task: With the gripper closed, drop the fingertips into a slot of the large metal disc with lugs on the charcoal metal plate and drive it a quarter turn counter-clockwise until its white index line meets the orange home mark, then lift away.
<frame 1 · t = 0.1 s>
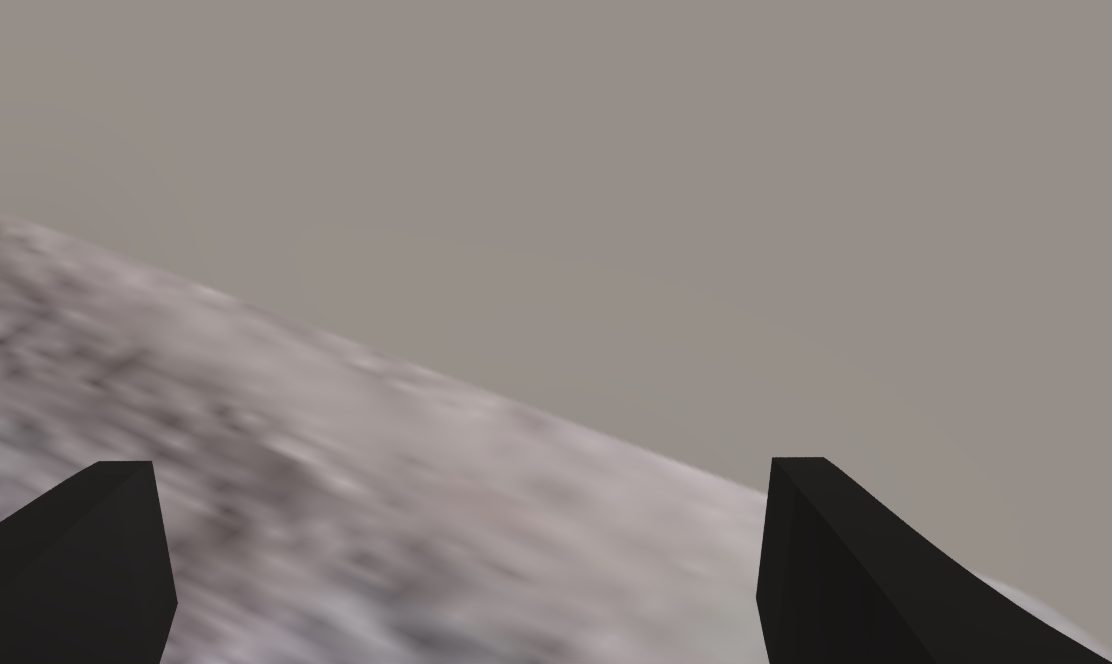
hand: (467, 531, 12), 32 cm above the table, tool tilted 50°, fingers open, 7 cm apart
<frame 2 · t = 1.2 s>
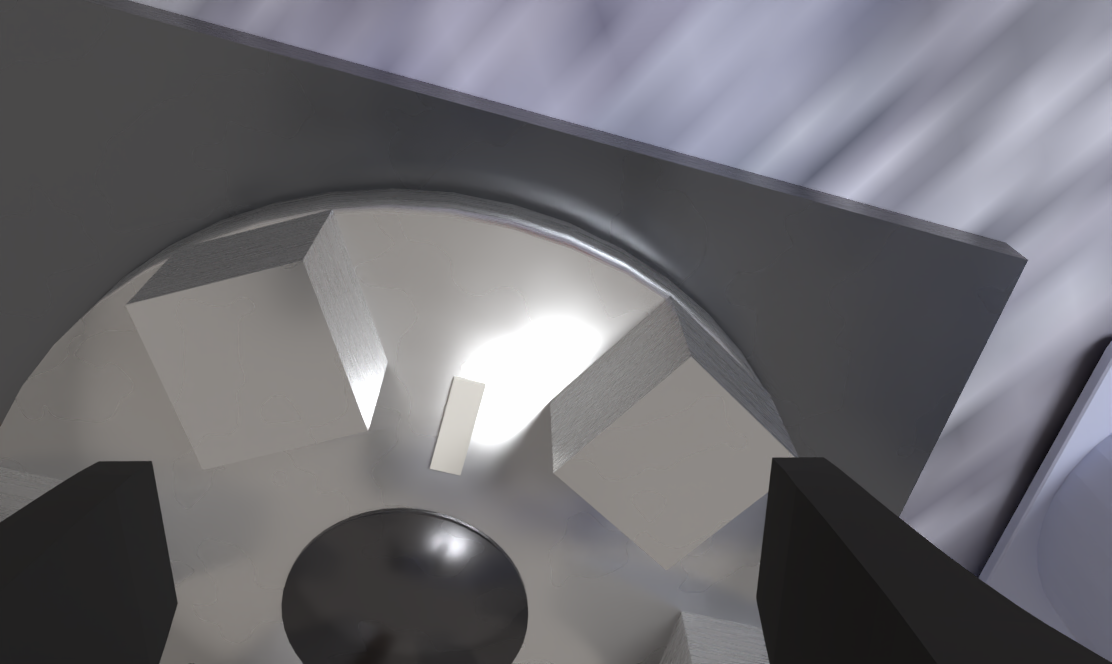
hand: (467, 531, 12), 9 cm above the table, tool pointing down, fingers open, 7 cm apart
metal disc with lugs: (403, 626, 20), point 3 cm above the table, hinge at 0.0°
mount plate: (419, 531, 23), on the table
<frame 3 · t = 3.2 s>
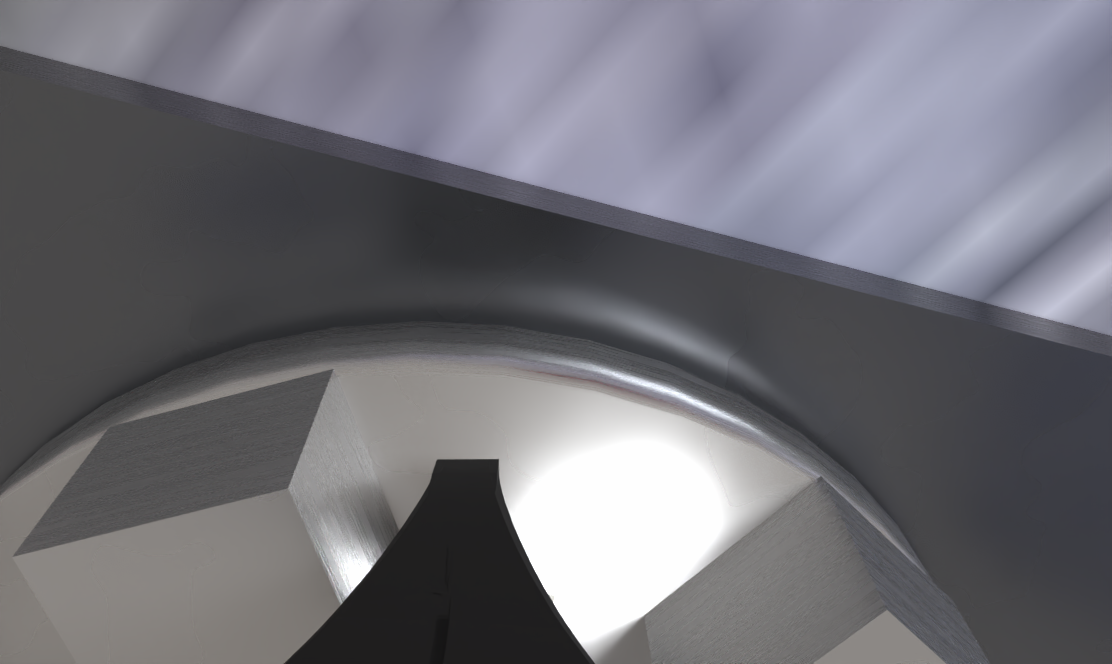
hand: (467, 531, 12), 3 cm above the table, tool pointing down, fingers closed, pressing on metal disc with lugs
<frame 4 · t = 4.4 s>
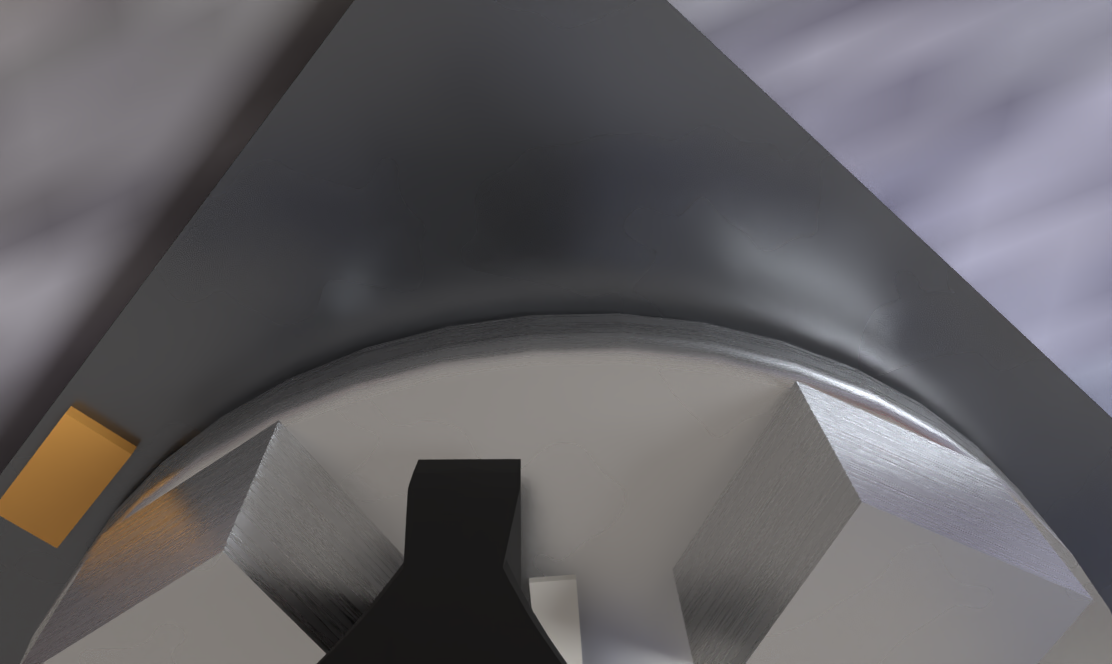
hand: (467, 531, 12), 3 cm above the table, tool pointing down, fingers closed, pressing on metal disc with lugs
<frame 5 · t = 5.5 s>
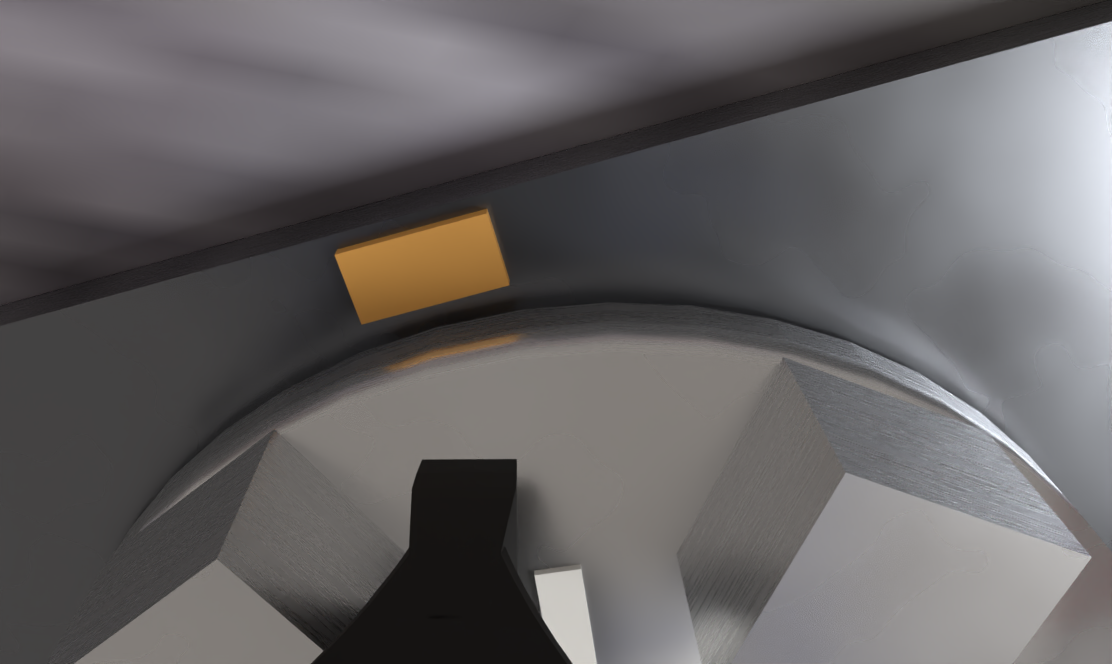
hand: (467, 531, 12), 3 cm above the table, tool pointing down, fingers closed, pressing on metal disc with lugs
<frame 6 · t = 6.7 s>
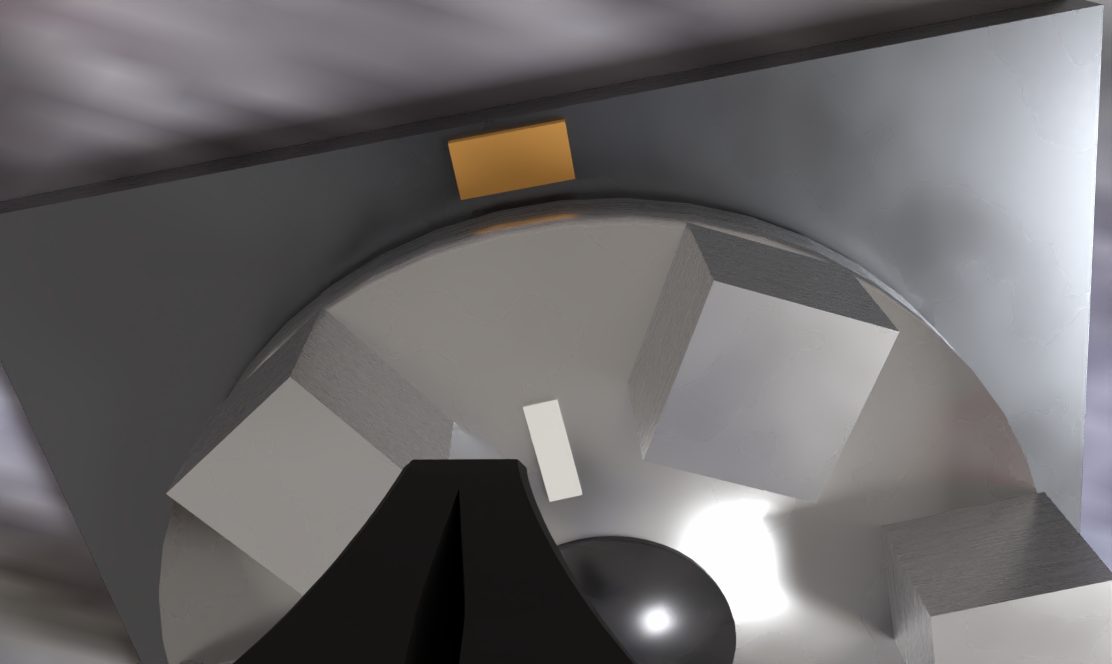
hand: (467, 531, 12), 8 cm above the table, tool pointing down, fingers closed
metal disc with lugs: (608, 660, 19), point 3 cm above the table, hinge at 92.9°
mount plate: (596, 555, 22), on the table
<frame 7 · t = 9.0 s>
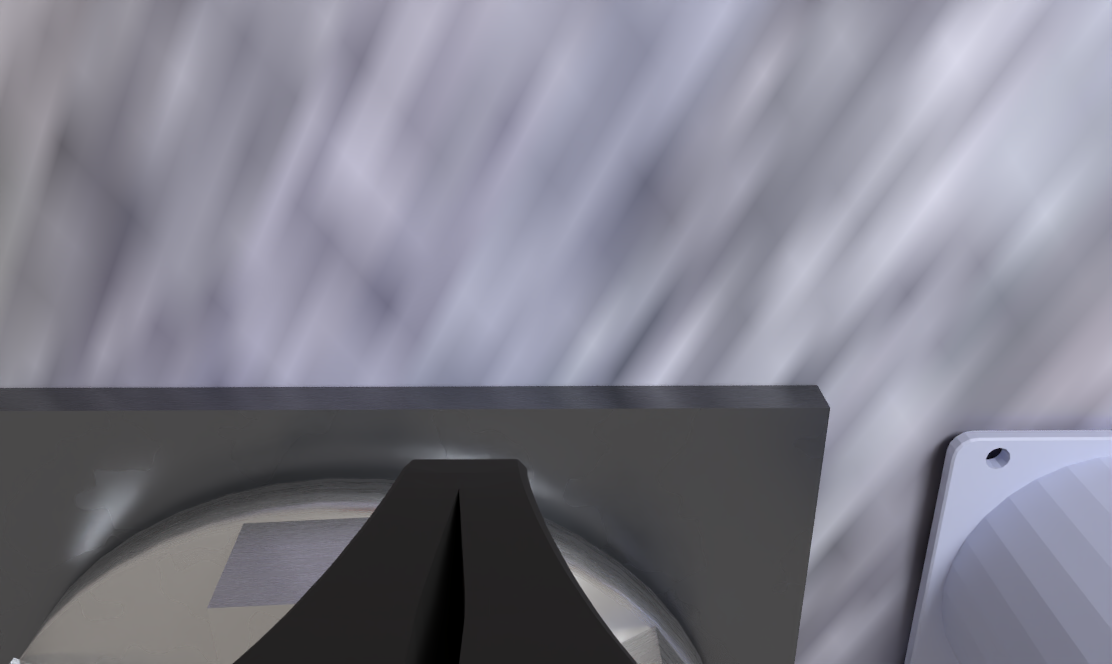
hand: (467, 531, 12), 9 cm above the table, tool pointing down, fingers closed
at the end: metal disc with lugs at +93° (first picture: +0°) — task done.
